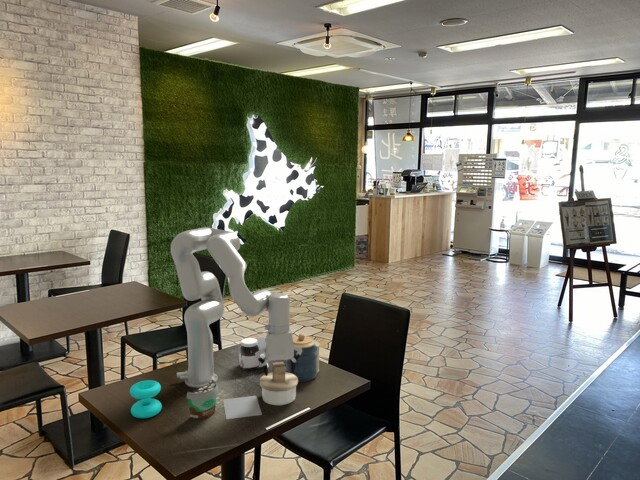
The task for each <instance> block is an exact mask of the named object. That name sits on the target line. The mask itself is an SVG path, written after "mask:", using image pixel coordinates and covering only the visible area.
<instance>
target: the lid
mask: <svg viewBox="0 0 640 480" xmlns="http://www.w3.org/2000/svg"><path fill="white" fill-rule="evenodd" d="M285 369H286V363H284V361H274V362H272V372H268V375H267V376H265V374H264V375H262V376H261V377H260V378H259V386H260V387H261V389H262V388H264V389H266V390H269V391H276V392H280V391H287V390H290V389H293V388H294V387H296V388H297V386H298V384H299V382H298V378H297V377H296V376H295V375H294V374H291V373H288V372H285Z"/></svg>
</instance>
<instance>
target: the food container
mask: <svg viewBox="0 0 640 480" xmlns="http://www.w3.org/2000/svg"><path fill="white" fill-rule="evenodd" d="M218 392H219V386H218V382H216V381H214V380H212V382H211V383H209V384H207V385H204V386H201V387H200V388H196V389H195V390H193V391H192V392H190V391H187V393H186V399H188V401H187V402H188V408H189V417H190V419H194V420H203V419H207V418H210V417H212V416H214V415H215V412H216V406H217V405H216V402H217V393H218Z"/></svg>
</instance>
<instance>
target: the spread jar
mask: <svg viewBox="0 0 640 480" xmlns="http://www.w3.org/2000/svg"><path fill="white" fill-rule="evenodd" d="M259 350H260V348H259V345H258V339H256V338H254V337H247V338H243V339H241V341H240V346H239V348H238V356H239V358H238V359H239V360H238V361H239V366H240V369H242V370H244V371H254V370H256V369H258V368H260V366H262V367H263V364H262V363H260V362H259V361H258V359H257V357H256V355H255V353H256V352H257V351H259ZM260 357H261V358H262V359H263V358H264V357H265V352H264V353H263V354H261V355H260ZM267 366H268V367H269V362H268V363H267Z"/></svg>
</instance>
